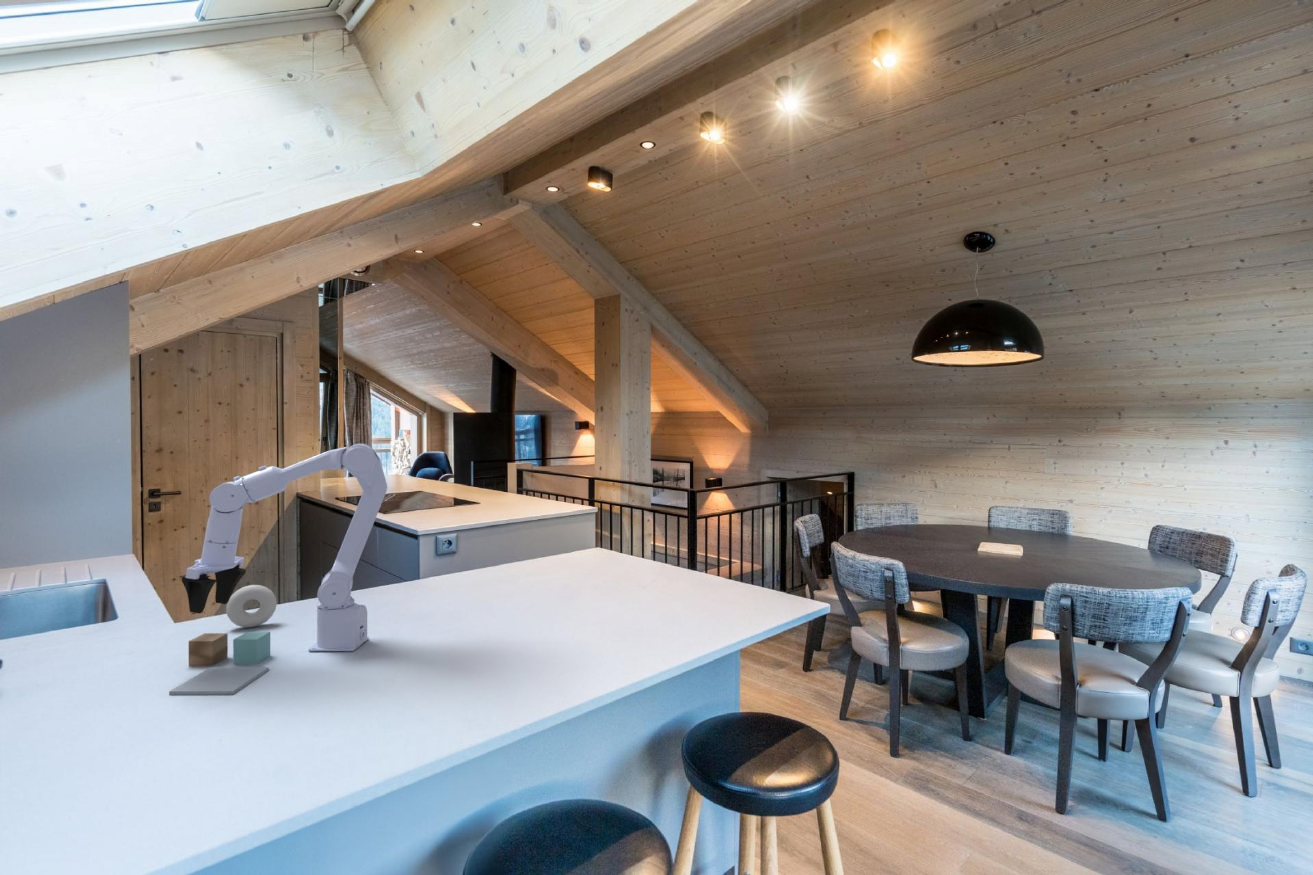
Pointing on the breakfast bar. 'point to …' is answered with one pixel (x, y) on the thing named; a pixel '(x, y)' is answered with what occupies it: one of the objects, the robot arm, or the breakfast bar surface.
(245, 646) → the teal brick
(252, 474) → the robot arm
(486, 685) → the breakfast bar surface
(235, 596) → the donut
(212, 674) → the baseplate
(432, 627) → the breakfast bar surface
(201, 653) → the walnut brick
